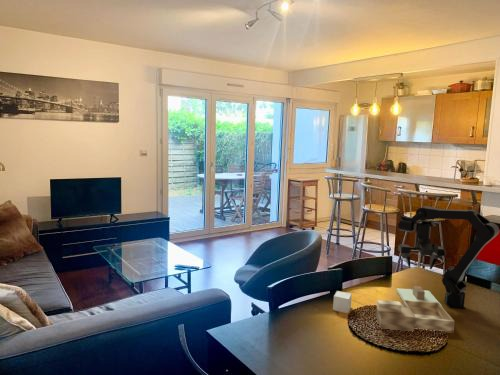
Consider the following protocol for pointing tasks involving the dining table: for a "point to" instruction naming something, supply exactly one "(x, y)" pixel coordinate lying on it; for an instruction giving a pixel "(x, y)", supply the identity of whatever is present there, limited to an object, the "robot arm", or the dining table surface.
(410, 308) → the beige rectangular tray
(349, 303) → the white cube block
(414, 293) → the lid
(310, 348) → the dining table surface
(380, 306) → the beige rectangular block
